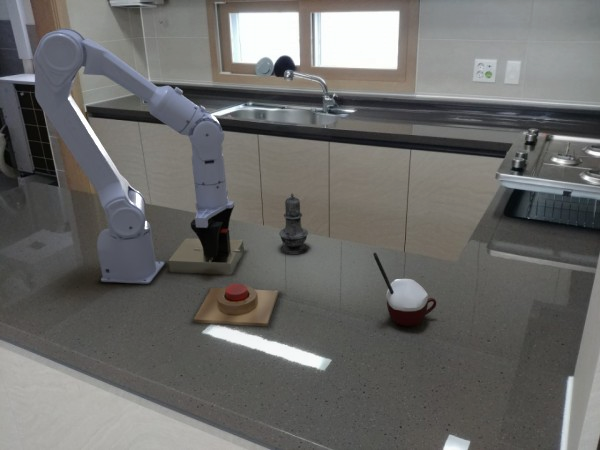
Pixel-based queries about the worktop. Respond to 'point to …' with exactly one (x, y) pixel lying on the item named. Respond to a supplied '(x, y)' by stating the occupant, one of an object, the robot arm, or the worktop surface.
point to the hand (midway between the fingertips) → (216, 247)
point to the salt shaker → (293, 228)
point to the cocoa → (406, 300)
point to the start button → (236, 292)
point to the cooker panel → (205, 258)
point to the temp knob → (224, 241)
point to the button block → (237, 308)
